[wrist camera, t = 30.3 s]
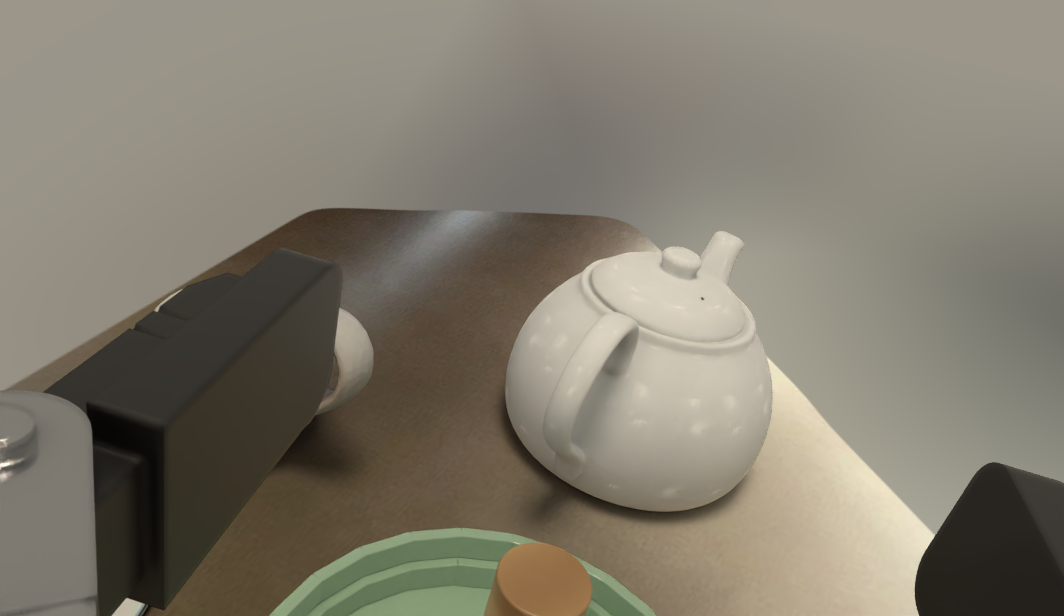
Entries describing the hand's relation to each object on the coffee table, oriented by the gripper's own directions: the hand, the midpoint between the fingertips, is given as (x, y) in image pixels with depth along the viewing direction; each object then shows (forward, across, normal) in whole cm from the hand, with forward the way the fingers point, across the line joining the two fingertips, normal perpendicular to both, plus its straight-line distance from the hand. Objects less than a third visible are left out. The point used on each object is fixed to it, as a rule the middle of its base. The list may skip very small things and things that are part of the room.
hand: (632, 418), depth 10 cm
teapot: (+36, -4, +26) cm, 45 cm away
